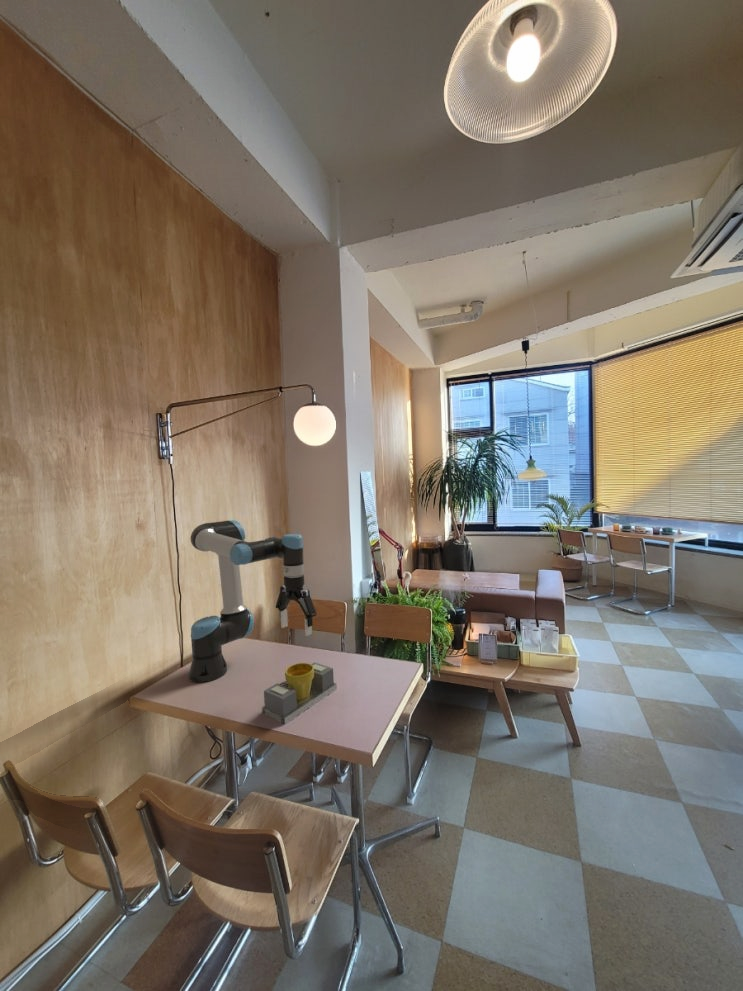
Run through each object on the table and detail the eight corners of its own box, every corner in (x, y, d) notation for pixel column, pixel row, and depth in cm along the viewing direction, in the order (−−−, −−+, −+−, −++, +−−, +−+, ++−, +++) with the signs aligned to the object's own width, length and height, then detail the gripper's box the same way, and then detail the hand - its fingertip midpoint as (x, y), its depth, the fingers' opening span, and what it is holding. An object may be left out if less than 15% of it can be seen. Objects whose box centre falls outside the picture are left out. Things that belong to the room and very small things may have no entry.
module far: (304, 683, 152) (303, 667, 152) (315, 677, 157) (314, 661, 157) (323, 690, 146) (322, 674, 146) (333, 683, 151) (332, 667, 151)
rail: (262, 712, 137) (261, 707, 137) (314, 680, 158) (314, 675, 158) (285, 724, 130) (284, 718, 130) (336, 688, 151) (336, 683, 151)
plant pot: (309, 703, 138) (307, 676, 138) (281, 701, 140) (280, 675, 140) (318, 688, 148) (317, 663, 148) (293, 686, 150) (291, 661, 150)
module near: (264, 707, 137) (263, 689, 137) (278, 699, 142) (277, 682, 142) (283, 716, 131) (282, 697, 131) (297, 707, 136) (296, 689, 136)
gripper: (265, 573, 152) (267, 626, 153) (309, 582, 137) (312, 641, 138) (280, 569, 158) (282, 621, 159) (324, 577, 143) (326, 634, 144)
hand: (296, 630), depth 148 cm, fingers open, 13 cm apart
